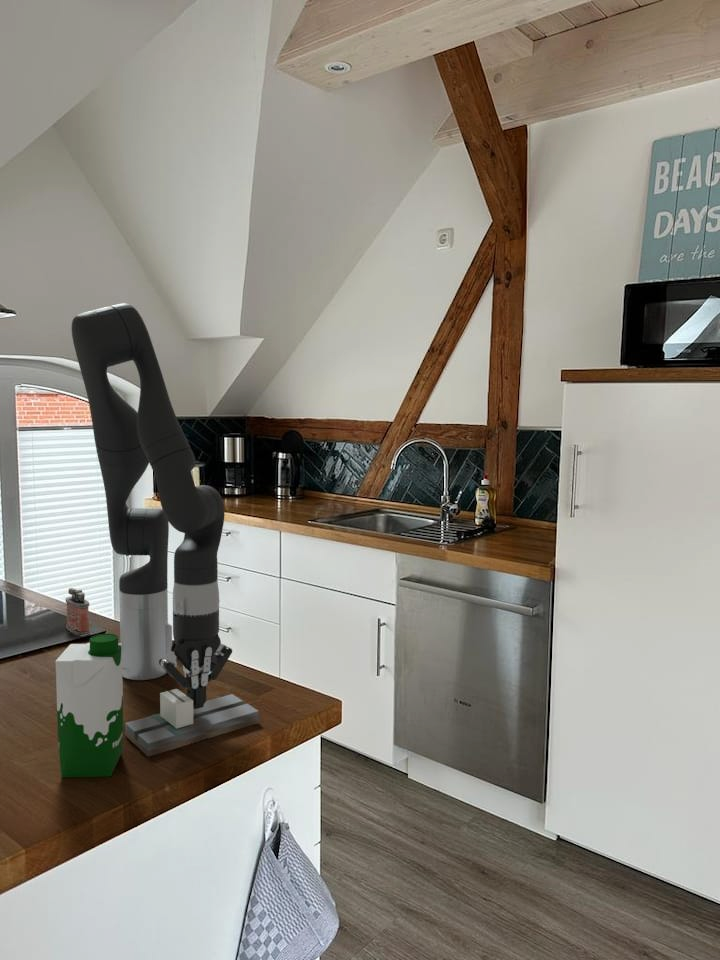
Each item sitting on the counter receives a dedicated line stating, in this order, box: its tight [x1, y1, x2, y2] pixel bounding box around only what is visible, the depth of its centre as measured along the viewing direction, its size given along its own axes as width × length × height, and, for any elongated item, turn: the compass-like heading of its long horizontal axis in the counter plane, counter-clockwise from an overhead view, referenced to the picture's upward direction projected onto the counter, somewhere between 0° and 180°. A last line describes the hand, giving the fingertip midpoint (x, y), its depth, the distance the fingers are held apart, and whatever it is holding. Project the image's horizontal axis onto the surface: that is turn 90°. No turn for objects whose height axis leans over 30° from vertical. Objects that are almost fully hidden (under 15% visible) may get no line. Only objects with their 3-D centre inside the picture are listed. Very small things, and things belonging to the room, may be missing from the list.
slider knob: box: [159, 688, 193, 729], centre depth 125 cm, size 3×6×5 cm, turn 39°
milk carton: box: [54, 633, 124, 779], centre depth 114 cm, size 9×9×20 cm
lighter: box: [65, 587, 91, 635], centre depth 176 cm, size 8×3×10 cm, turn 47°
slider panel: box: [124, 693, 260, 758], centre depth 127 cm, size 20×9×2 cm, turn 129°
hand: (196, 706), depth 128 cm, fingers closed
